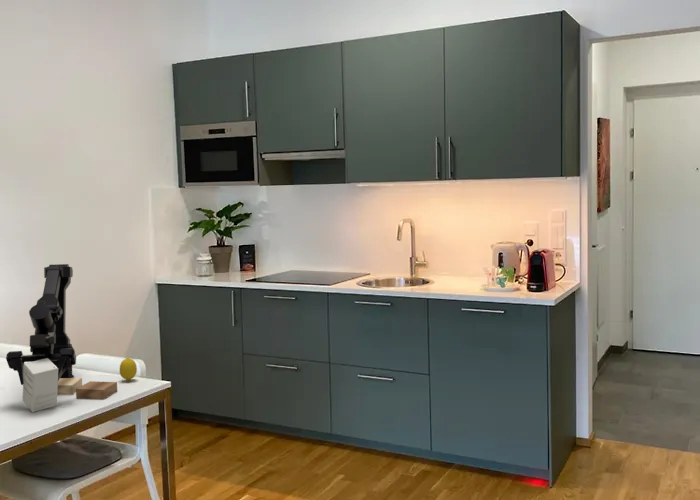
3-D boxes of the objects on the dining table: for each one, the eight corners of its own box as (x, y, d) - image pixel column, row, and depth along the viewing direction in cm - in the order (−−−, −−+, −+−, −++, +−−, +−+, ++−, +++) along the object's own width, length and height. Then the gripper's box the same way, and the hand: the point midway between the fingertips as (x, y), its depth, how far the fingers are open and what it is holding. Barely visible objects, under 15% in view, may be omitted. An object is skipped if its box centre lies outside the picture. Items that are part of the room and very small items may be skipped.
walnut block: (76, 398, 220) (75, 388, 220) (90, 390, 229) (90, 381, 229) (103, 399, 219) (103, 389, 219) (117, 391, 228) (116, 382, 228)
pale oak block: (43, 395, 224) (43, 385, 224) (54, 387, 233) (54, 378, 233) (72, 394, 225) (72, 385, 224) (82, 386, 234) (82, 377, 233)
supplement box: (46, 394, 216) (48, 357, 212) (57, 406, 211) (59, 368, 207) (21, 400, 210) (22, 362, 207) (31, 412, 206) (33, 373, 202)
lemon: (139, 379, 243) (138, 355, 242) (133, 383, 238) (132, 359, 237) (124, 378, 244) (123, 355, 243) (117, 383, 238) (116, 359, 238)
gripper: (5, 324, 210) (-2, 370, 201) (73, 321, 215) (69, 366, 205) (13, 345, 219) (6, 390, 209) (77, 342, 223) (74, 386, 213)
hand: (39, 383), depth 209 cm, fingers closed on supplement box, 9 cm apart
